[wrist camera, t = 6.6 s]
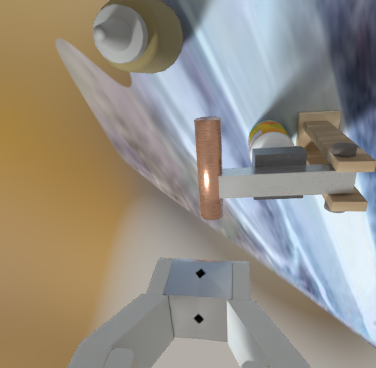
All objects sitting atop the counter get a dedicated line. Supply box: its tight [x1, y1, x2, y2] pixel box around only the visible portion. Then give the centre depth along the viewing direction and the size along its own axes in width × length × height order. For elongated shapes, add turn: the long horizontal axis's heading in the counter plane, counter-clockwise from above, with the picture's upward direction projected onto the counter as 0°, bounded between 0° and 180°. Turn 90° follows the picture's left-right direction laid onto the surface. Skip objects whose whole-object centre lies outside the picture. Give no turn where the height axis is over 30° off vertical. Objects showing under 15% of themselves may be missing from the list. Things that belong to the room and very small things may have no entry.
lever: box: [194, 116, 357, 220], centre depth 29 cm, size 10×15×4 cm
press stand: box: [296, 111, 376, 213], centre depth 33 cm, size 7×5×16 cm
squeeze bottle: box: [93, 0, 183, 73], centre depth 30 cm, size 8×8×18 cm
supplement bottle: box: [248, 120, 294, 162], centre depth 37 cm, size 5×5×10 cm
